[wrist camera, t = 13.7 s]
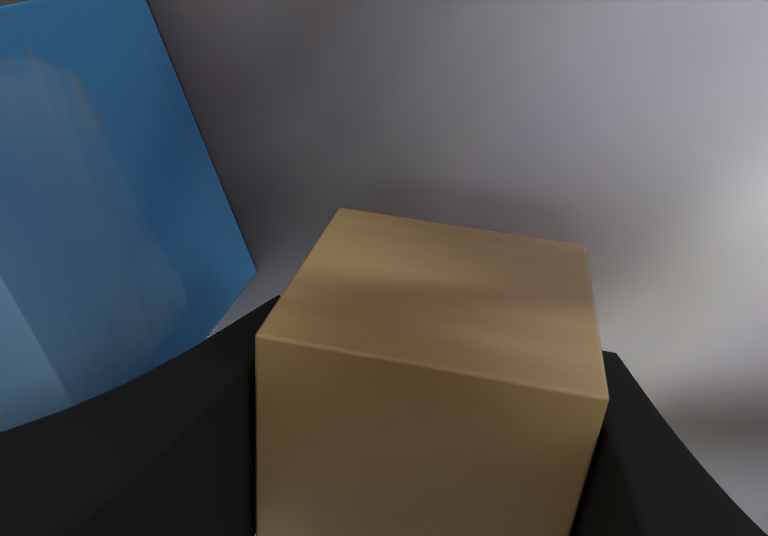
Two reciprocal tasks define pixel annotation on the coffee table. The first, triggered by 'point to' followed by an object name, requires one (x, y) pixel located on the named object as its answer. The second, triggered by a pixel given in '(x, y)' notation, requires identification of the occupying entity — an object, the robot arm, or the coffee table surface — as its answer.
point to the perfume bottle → (101, 207)
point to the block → (428, 384)
